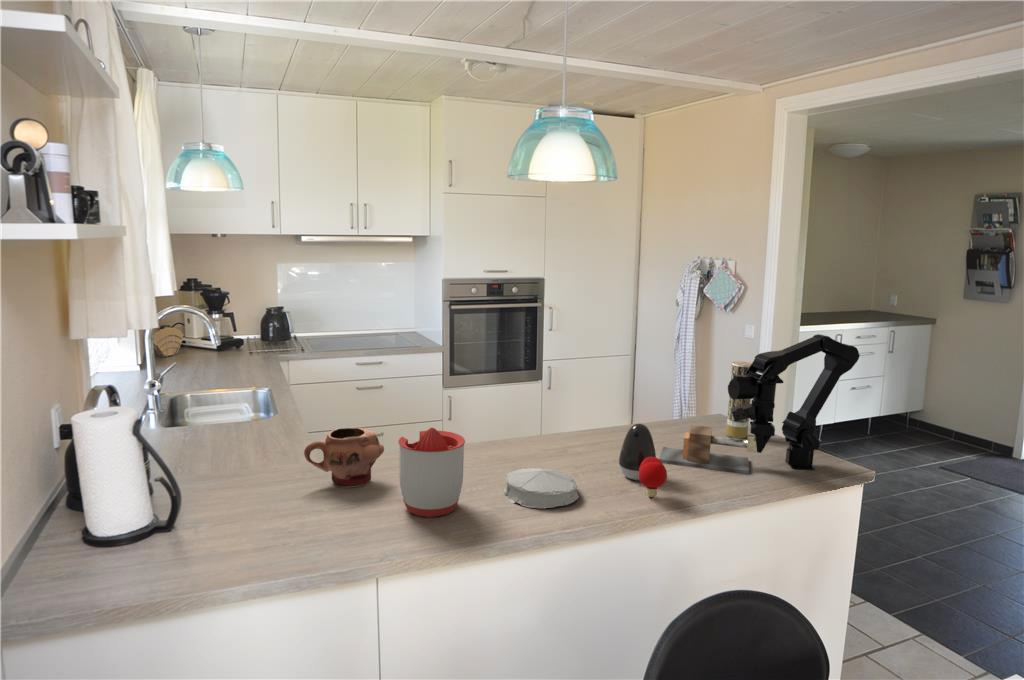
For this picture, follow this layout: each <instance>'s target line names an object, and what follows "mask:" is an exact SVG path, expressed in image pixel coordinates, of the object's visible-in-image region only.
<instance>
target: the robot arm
mask: <svg viewBox="0 0 1024 680" xmlns="http://www.w3.org/2000/svg"><path fill="white" fill-rule="evenodd" d="M820 352H821V353H824V354H825V355H824V358H823V361H824V362H823V364H824V365H823V369H822V371H821V372H820V374H819V376H818V378H817V379H816V381H815V383H814V385H813V386H812V388H811V389H810V392H809V393H808V395H807V397H806V398H805V399H804V402H803V403H802V405H801V406H800V408H799V409H798V410H796V411H789V412H788V413H787V414H786V415H787V416H786V417H785V419H784V420H783V421H782V427H781V431H782V435H783V436H784V440H785V442H787V443H788V448H786V451H785V452H786V453H785V459H784V462H785V463H786V464H787V465H788V466H789V467H790V468H791V469H796V470H797V469H798V470H815V466H813V463H814V455H815V452H814V451H817V450H819V449H820V446H821V442H820V441H819V440H818V439H817V437H816V436H815V431H816V430H817V417H818V415H819V414H820V412H821V410H822V409H823V407H824V405H825V403H826V402H827V400H828V398H829V397H830V395H831V393H832V392H833V390H834V388H835V386H836V385H837V383H838V382H839V380H840V378H841V376H843V375H844V374H846V373H848V372H849V371H851V370H852V369H853V368H854V366H855V365H856V364H857V363H858V361H859V358H860V352H859V349H858V348H857V347H856V346H855V345H850V344H847V343H842V342H841V341H840V342H839V341H837V340H836V339H833V338H831V337H830V336H828V335H824V334H819V333H817V334H814V335H813V336H812V337H810V338H807V339H805V340H803V341H800V342H798V343H795V344H793V345H790V346H788V347H786V348H784V349H780V350H772V351H766V352H761V353H757V354H756V355H755V356H754V359H753V361H752V362H751V363H752V364H751V365H750V367H749V368H748V369H747V371H746V372H745V373H744V375H743V376H740V375H734V376H733V379H732V380H731V379H730V381H729V383H728V385H727V392H728V396H730V397H731V398H732V399H751V402H750V404H747V405H742V406H737V407H733V408H732V409H731V411H732V415H733V418H734V421H740V420H742V419H747V418H749V420H750V421H749V426H750V429H749V430H750V434H752V435H754V437H756V446H757V452H758V453H757V454H761V453H762V452H763V450H764V449H765V447H766V446H767V444H768V443H769V441H770V439H771V438H772V437H775V433H776V428H775V425H774V424H773V423H774V412H775V411H774V409H775V406H776V403H775V399H776V389H777V384H784V380H783V379H782V378H781V377H780V376H779V375H781V374H782V373H783V372H785V371H786V370H787V368H789V366H790V365H792V364H794V363H797V362H800V361H801V360H803V359H806V358H808V357H811V356H813V355H816V354H818V353H820Z"/></svg>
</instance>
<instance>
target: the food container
mask: <svg viewBox="0 0 1024 680" xmlns="http://www.w3.org/2000/svg"><path fill="white" fill-rule="evenodd" d="M505 480H506V483H505V484H506V486H505V488H503V489H504V490H503V494H504V496H508V500H509V502H511V503H512V504H515V503H516V504H520V505H521V506H522V507H527V508H533V509H541V510H542V509H548V508H549V509H551V508H556V507H563V506H568V505H571V504H573V503H575V501H577V500H578V499H579V498H580V495H579V494H578V492H579V489H578V488H579V487H578V485H577V481H575V480H574V478H573V477H572V475H569V474H568V473H566V472H563V471H560V470H557V469H553V468H546V467H544V468H543V467H538V468H537V467H529V468H528V467H524V468H521V469H520V468H519V469H516V470H512V471H510V472H509V473H507V474H506V475H505Z"/></svg>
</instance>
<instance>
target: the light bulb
mask: <svg viewBox="0 0 1024 680" xmlns="http://www.w3.org/2000/svg"><path fill="white" fill-rule="evenodd" d="M667 478H668V472H667V468H666V467H665V465H664V463H662V462H661V461H660V460H659V458H657V456H656V457H647V458H645V459H644V460H643V462H642V463H641V465H640V468H639V480H638V481H639V482H640V484H641V485H643V486H644V487H645V488H646V489H645V492H646V493H645V495H647V496H648V498H651V499H653V498H655V497H656V496H657V495H658V488H661V487H662V486H663V485H665V483H666V481H667Z"/></svg>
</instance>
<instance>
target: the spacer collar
mask: <svg viewBox="0 0 1024 680" xmlns="http://www.w3.org/2000/svg"><path fill="white" fill-rule="evenodd" d="M689 436H690V432H688V431H687V432H684V437H683V448H682V449H683V459H688V449H689Z"/></svg>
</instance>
